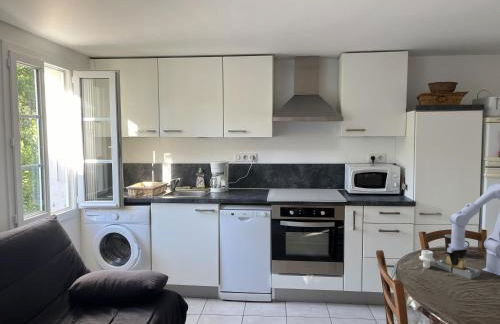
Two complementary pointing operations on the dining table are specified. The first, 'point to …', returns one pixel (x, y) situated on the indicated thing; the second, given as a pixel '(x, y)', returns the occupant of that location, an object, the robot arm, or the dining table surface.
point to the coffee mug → (449, 241)
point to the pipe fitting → (426, 258)
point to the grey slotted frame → (457, 269)
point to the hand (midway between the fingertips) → (456, 264)
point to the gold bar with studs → (460, 264)
